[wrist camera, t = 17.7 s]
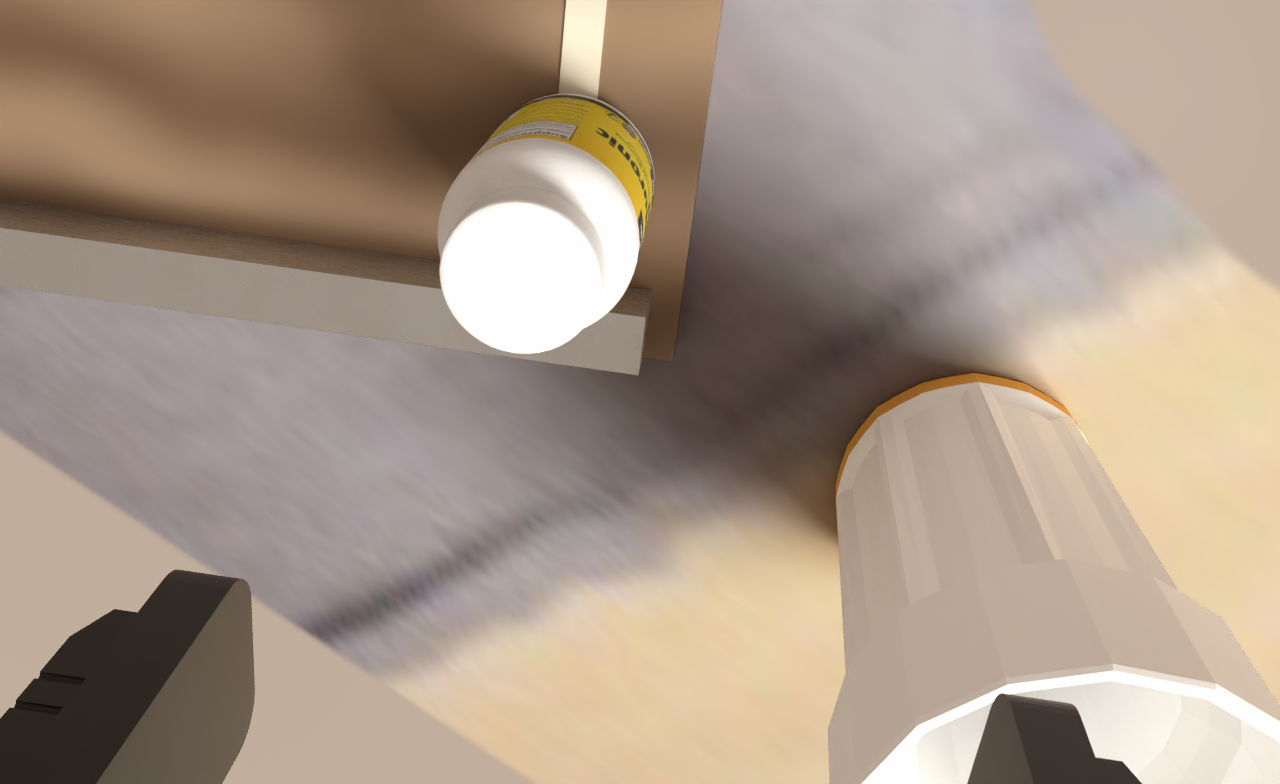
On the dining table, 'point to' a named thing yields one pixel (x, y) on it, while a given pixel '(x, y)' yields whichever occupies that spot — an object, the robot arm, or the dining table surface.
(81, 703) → the robot arm
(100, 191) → the brown flat wooden board
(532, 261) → the supplement bottle
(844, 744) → the cup
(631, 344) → the metal straightedge
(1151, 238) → the dining table surface
